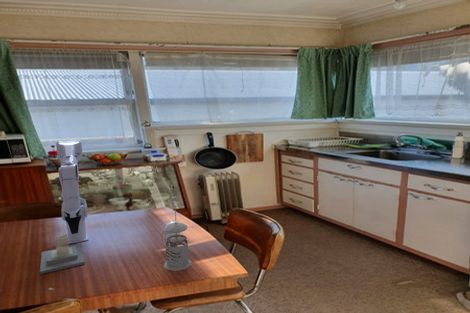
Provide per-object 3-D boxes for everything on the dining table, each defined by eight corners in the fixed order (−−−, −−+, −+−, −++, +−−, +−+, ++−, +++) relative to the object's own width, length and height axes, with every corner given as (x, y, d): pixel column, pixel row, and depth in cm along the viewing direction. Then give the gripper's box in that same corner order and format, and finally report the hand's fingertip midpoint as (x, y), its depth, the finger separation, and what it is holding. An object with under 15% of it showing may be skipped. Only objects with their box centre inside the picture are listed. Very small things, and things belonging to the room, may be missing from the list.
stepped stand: (42, 254, 124) (41, 247, 124) (81, 246, 131) (80, 240, 131) (40, 274, 109) (39, 266, 108) (84, 264, 116) (84, 257, 115)
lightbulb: (178, 250, 125) (177, 224, 124) (163, 249, 126) (162, 223, 125) (184, 244, 131) (183, 218, 130) (170, 243, 133) (168, 218, 131)
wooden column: (57, 251, 121) (55, 236, 120) (68, 248, 122) (67, 234, 122) (57, 255, 117) (55, 240, 116) (69, 252, 119) (67, 237, 118)
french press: (178, 273, 108) (175, 202, 104) (154, 265, 114) (150, 197, 110) (197, 261, 116) (194, 195, 112) (173, 254, 122) (170, 191, 118)
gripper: (83, 199, 116) (87, 234, 118) (81, 190, 129) (84, 222, 131) (62, 202, 113) (65, 238, 115) (62, 193, 125) (65, 225, 127)
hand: (74, 230), depth 123 cm, fingers open, 7 cm apart
